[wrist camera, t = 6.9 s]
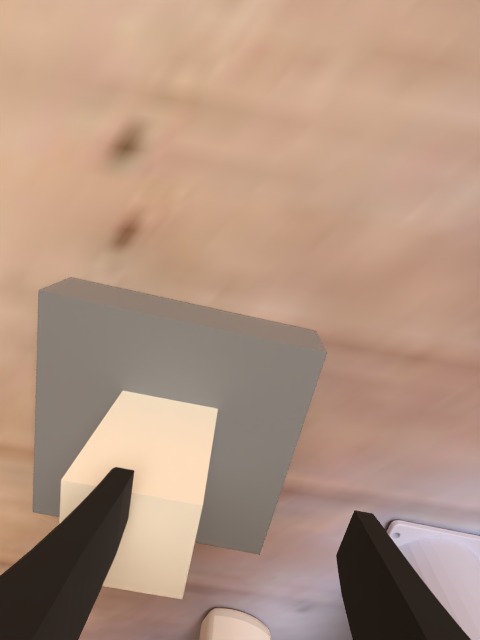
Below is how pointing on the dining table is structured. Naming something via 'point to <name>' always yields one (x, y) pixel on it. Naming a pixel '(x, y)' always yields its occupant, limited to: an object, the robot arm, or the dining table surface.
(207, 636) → the eye dropper bottle
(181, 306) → the base plinth
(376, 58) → the dining table surface
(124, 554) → the cream block
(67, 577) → the robot arm
